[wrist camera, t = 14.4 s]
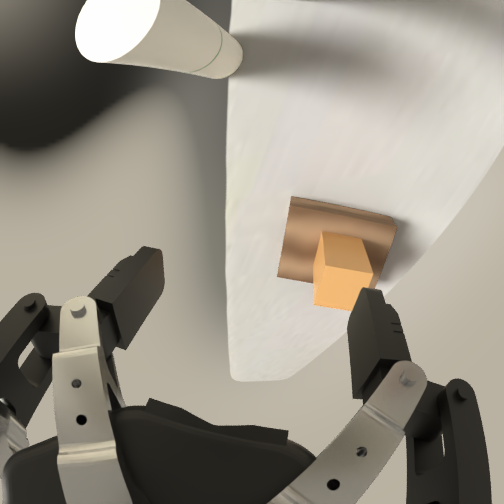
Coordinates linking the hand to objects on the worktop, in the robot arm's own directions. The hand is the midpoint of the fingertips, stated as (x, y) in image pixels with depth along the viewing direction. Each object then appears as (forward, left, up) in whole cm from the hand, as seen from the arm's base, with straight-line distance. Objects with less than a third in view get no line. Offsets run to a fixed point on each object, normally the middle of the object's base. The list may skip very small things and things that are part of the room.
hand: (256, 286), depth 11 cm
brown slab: (+13, +9, -32) cm, 36 cm away
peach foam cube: (+14, +9, -28) cm, 33 cm away
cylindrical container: (-13, -12, -32) cm, 37 cm away
